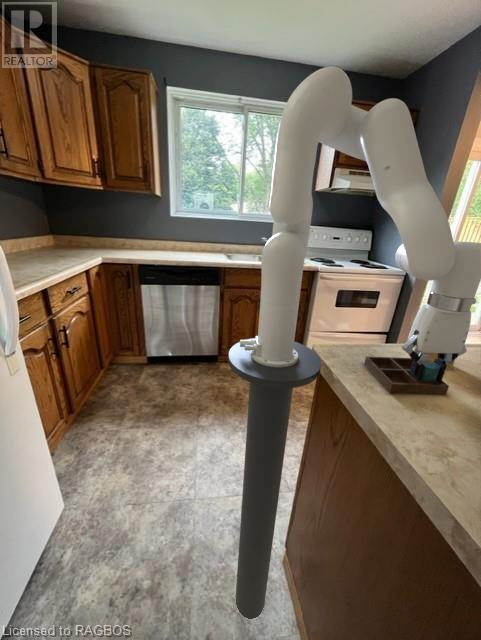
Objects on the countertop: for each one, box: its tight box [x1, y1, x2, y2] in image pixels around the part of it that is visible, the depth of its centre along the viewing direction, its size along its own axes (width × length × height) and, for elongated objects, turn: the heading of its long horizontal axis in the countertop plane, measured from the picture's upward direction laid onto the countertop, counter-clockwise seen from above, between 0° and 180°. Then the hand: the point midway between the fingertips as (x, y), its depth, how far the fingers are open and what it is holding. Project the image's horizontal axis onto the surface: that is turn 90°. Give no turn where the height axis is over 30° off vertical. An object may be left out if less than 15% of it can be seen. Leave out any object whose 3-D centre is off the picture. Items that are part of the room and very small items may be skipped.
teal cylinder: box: [420, 360, 440, 383], centre depth 63 cm, size 4×4×4 cm
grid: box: [363, 356, 450, 396], centre depth 67 cm, size 13×13×2 cm
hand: (425, 376), depth 63 cm, fingers closed on teal cylinder, 4 cm apart
